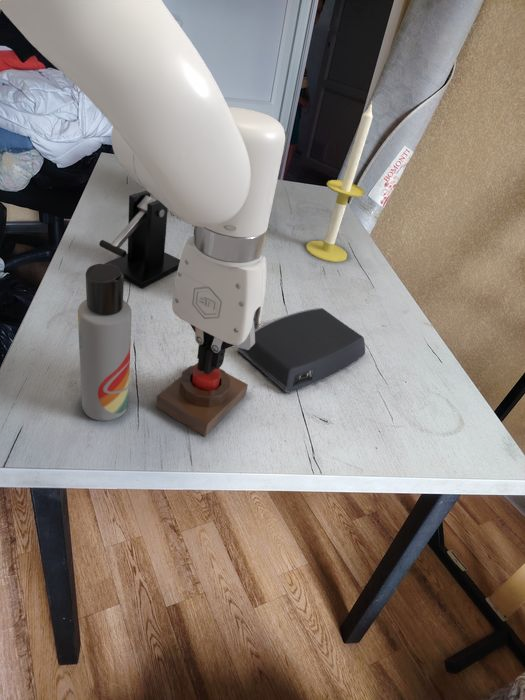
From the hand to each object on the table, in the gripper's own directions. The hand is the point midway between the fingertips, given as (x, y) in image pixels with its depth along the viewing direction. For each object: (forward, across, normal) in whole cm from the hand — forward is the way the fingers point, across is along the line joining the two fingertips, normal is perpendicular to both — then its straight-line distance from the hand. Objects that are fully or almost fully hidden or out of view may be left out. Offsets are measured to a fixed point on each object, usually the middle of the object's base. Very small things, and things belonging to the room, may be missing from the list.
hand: (209, 367), depth 62 cm
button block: (+6, 0, 0) cm, 6 cm away
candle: (+7, -7, +60) cm, 61 cm away
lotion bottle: (+6, -9, -9) cm, 14 cm away
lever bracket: (+6, -29, +22) cm, 37 cm away
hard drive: (+6, +6, +20) cm, 22 cm away
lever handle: (-2, -29, +18) cm, 35 cm away
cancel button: (+3, 0, 0) cm, 3 cm away
